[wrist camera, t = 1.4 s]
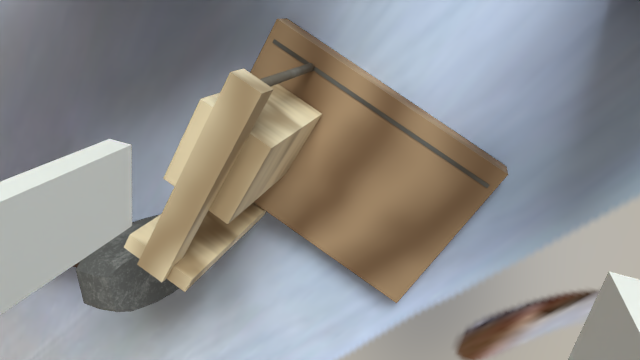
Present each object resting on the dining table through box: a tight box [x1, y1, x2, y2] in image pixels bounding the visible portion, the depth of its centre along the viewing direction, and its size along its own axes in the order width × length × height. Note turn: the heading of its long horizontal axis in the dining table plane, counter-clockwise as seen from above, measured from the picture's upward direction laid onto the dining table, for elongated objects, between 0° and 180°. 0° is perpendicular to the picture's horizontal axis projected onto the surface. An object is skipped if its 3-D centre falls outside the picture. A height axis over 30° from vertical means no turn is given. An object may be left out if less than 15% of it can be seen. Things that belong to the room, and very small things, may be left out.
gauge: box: [124, 63, 322, 292], centre depth 34 cm, size 5×14×13 cm, turn 148°
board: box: [250, 18, 508, 303], centre depth 38 cm, size 20×14×2 cm
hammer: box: [73, 215, 179, 312], centre depth 47 cm, size 5×11×30 cm
